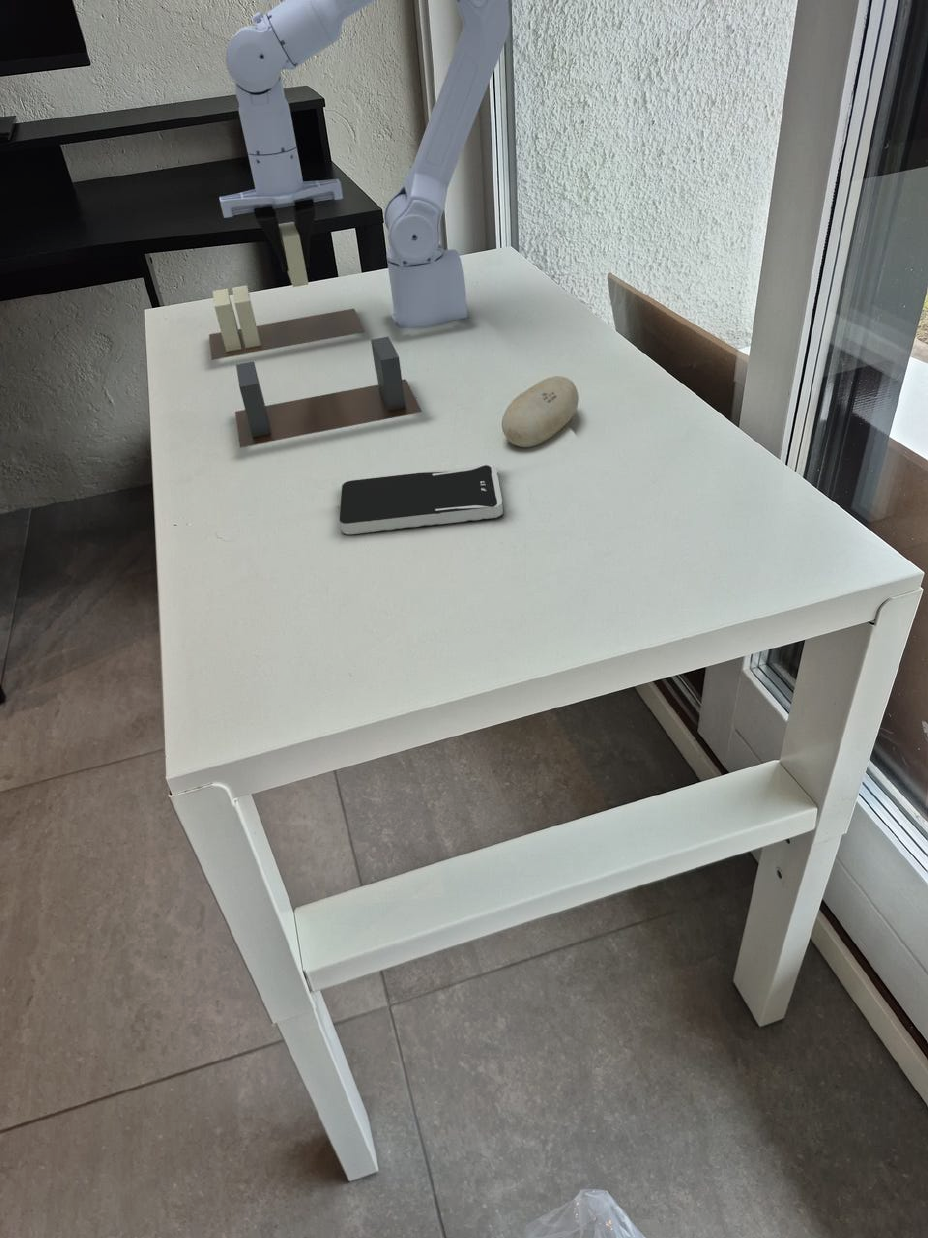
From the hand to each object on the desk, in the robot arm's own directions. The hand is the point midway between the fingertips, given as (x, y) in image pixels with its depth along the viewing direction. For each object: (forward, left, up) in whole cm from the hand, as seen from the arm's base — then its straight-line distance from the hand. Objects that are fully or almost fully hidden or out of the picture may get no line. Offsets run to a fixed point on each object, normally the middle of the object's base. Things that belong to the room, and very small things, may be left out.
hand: (295, 267), depth 114 cm
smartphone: (-5, +46, -10) cm, 47 cm away
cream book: (0, 0, -1) cm, 1 cm away
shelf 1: (+3, -1, -9) cm, 10 cm away
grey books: (+1, +25, -8) cm, 26 cm away
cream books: (+9, -1, -8) cm, 12 cm away
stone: (-20, +37, -10) cm, 43 cm away
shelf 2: (+1, +25, -9) cm, 26 cm away
